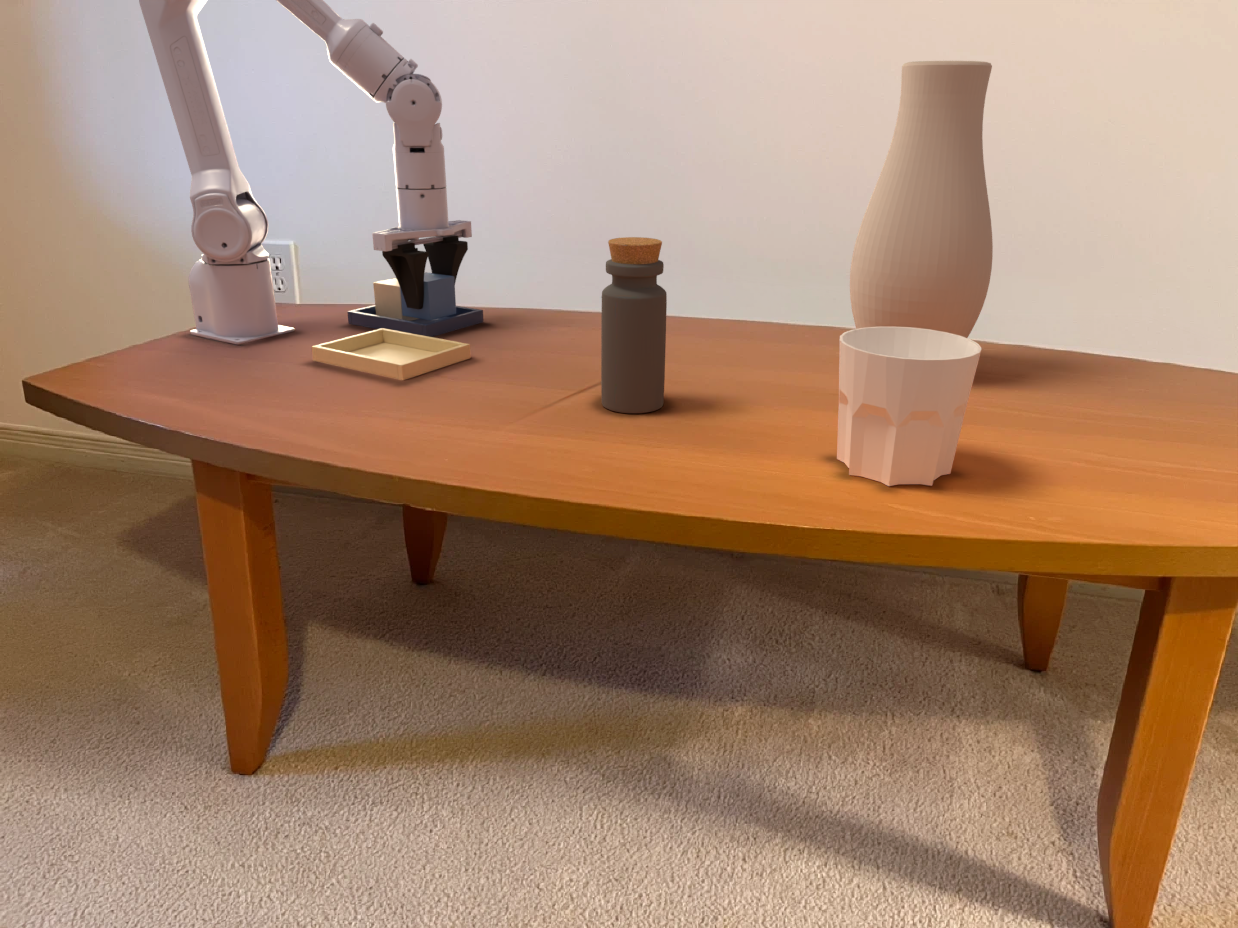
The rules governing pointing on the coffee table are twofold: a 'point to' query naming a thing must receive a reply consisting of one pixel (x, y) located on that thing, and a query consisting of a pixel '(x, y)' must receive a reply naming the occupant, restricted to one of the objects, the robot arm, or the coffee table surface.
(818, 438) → the coffee table surface
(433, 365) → the cream tray
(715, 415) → the coffee table surface
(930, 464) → the cup
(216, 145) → the robot arm
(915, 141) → the vase
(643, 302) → the bottle
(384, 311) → the cream block
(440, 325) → the blue tray
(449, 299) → the blue block
